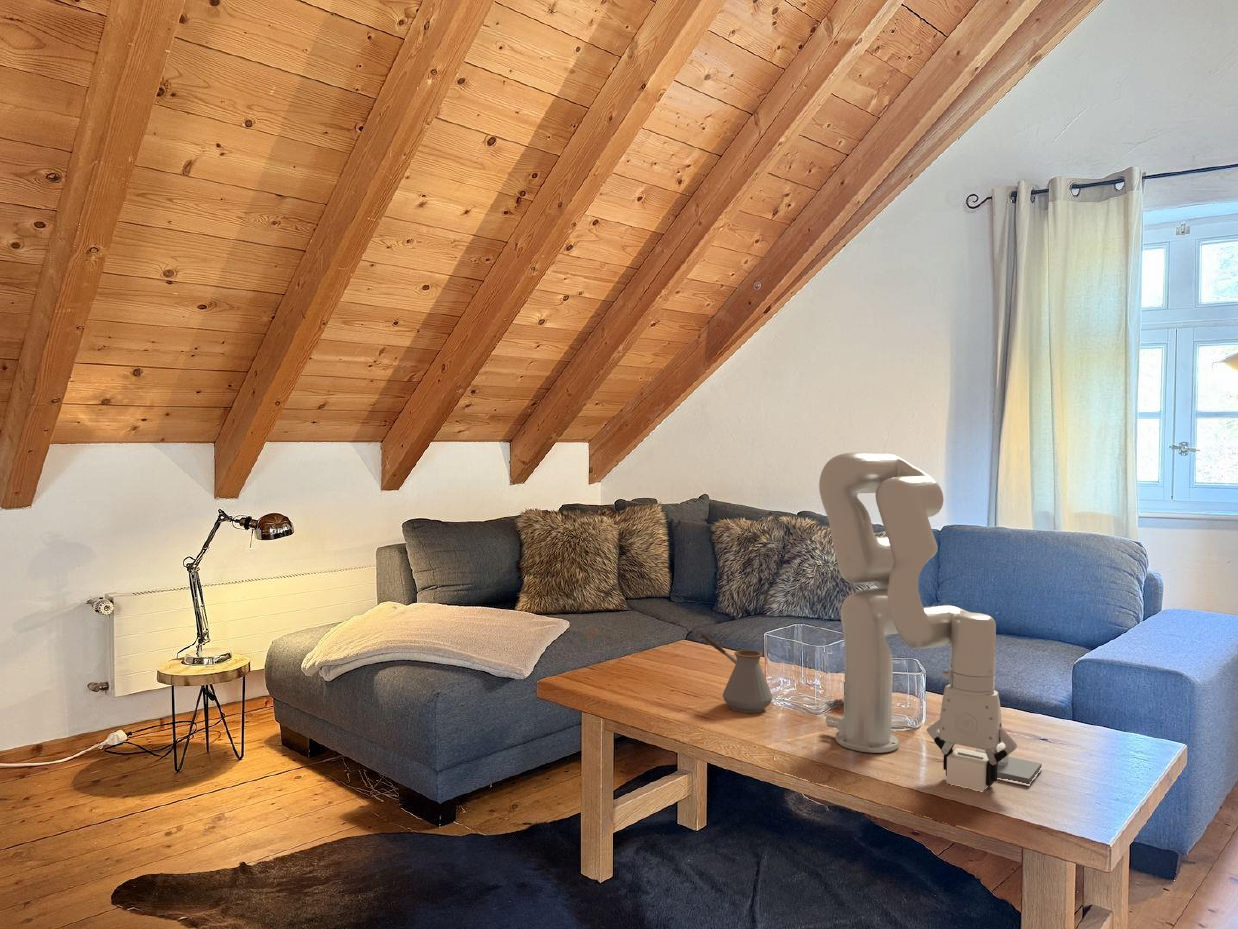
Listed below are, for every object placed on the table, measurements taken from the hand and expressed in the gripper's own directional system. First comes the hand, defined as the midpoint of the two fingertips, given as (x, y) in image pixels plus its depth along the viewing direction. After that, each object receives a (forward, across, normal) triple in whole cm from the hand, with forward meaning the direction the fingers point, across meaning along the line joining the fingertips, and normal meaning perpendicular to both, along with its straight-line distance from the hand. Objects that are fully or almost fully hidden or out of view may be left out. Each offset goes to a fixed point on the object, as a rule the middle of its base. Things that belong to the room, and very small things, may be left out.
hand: (969, 778), depth 164 cm
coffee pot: (+1, -59, +16) cm, 61 cm away
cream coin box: (+1, 0, 0) cm, 1 cm away
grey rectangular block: (-1, +3, +10) cm, 10 cm away
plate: (+1, +3, +10) cm, 10 cm away
